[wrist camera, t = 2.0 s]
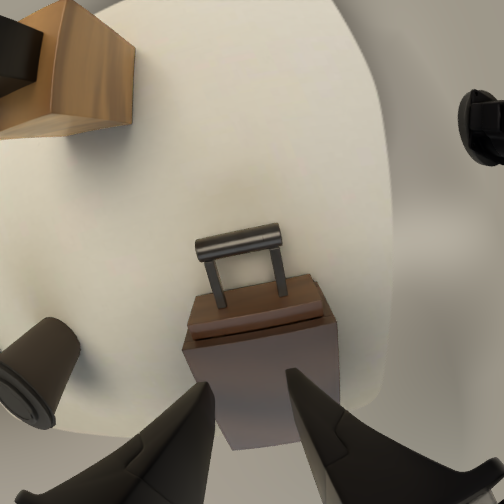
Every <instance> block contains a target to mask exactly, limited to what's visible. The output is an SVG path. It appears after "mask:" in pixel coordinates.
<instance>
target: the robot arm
mask: <svg viewBox="0 0 504 504" xmlns="http://www.w3.org/2000/svg"><path fill="white" fill-rule="evenodd" d="M472 144H473V147H472ZM468 147H469V149H470V150H471V151H473V152H476V153H478V154H480V155H482V156H484V157H486V158H488V159H490V160H492V161H494V162H496V163H498V164H500V165H504V100H496V101H494V100H493V99H491V98H489V97H488V96H486V95H485V94H483V93H481V92H480V91H478V90H476V89H472V90H471V92H470V125H469V139H468ZM285 373H286V380H287V387H288V392H289V397H290V402H291V407H292V411H293V416H294V421H295V424H296V427H297V430H298V433H299V436H300V439H301V442H302V445H303V448H304V450H305V454H306V457H307V459H308V462H309V465H310V468H311V471H312V473H313V477H314V480H315V482H316V485H317V488H318V491H319V494H320V497H321V499H322V502H323V504H497V501H496V499H495V497H494V495H493V493H492V491H491V488H493V487H494V486H495V485H496V484H497V483H498V482H499V481H500V480H501V479H502V478H503V477H504V464H503V463H502V462H501V461H500V460H499V459H498V458H497V457H494V458H491V459H489V460H487V461H486V462H484V463H482V464H481V465H480V466H478V467H476V468H474V469H472V470H470V471H467V472H458V471H455V470H453V469H451V468H448V467H446V466H444V465H441V464H439V463H438V462H435V461H433V460H431V459H429V458H427V457H425V456H423V455H421V454H419V453H417V452H415V451H413V450H411V449H409V448H407V447H405V446H403V445H401V444H400V443H398V442H396V441H394V440H392V439H390V438H388V437H387V436H385V435H383V434H381V433H379V432H377V431H375V430H374V429H372V428H371V427H369V426H367V425H366V424H364V423H363V422H361V421H360V420H358V419H357V418H356V417H355V416H353V415H352V414H351V413H349V412H348V411H347V410H345V409H344V408H343V407H342V406H341V405H339V404H338V403H337V402H336V401H335V400H333V399H332V398H331V397H330V396H329V395H327V394H326V393H325V392H324V391H323V390H322V389H320V388H319V387H318V386H317V385H316V384H315V383H313V382H312V381H311V380H310V379H309V378H308V377H307V376H305V375H304V374H303V373H302V372H301V371H300V370H299V369H297V368H296V367H295V368H290V369H286V370H285ZM214 433H215V396H214V394H213V392H212V389H211V387H210V385H209V383H208V382H206V381H205V382H197V383H196V384H195V385H194V386H192V387H191V388H190V389H189V390H188V391H187V392H186V393H185V394H184V395H182V396H181V397H180V398H179V399H178V400H177V401H176V402H175V403H173V404H172V405H171V406H170V407H169V408H168V409H167V410H165V411H164V412H163V413H162V414H161V415H160V416H159V417H157V418H156V419H155V420H154V421H153V422H152V423H150V424H149V425H148V426H147V427H146V428H144V429H143V430H142V431H141V432H140V434H137V435H135V436H134V437H133V438H132V439H131V440H129V441H128V442H127V443H125V444H124V445H123V446H121V447H120V448H119V449H117V450H116V451H114V452H113V453H111V454H110V455H108V456H107V457H105V458H103V459H102V460H100V461H99V462H97V463H96V464H94V465H92V466H91V467H89V468H87V469H86V470H84V471H82V472H81V473H79V474H78V475H76V476H74V477H72V478H71V479H69V480H67V481H65V482H64V483H62V484H60V485H58V486H56V487H55V488H53V489H51V490H49V491H47V492H45V493H43V494H39V495H37V494H33V493H30V492H28V491H26V490H22V491H20V492H19V494H18V495H17V497H16V498H15V503H17V504H203V502H204V496H205V490H206V484H207V477H208V471H209V465H210V459H211V452H212V446H213V440H214ZM498 504H504V499H503V500H502V501H501V502H499V503H498Z"/></svg>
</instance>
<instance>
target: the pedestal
mask: <svg viewBox="0 0 504 504" xmlns="http://www.w3.org/2000/svg"><path fill="white" fill-rule="evenodd" d="M18 22H20V23H22V24H25V25H27V26H30V27H32V28H34V29H37V30H39V31H42V32H43V38H42V44H41V50H40V56H39V63H38V71H37V80H36V82H34V83H32V84H30V85H27V86H25V87H23V88H20V89H18V90H16V91H14V92H12V93H10V94H8V95H6V96H4V97H2V98H0V140H5V139H18V138H34V137H62V136H69V135H74V134H78V133H83V132H88V131H93V130H99V129H104V128H110V127H116V126H122V125H129V124H132V97H133V73H134V57H135V47H134V46H132V45H131V44H130V43H129V42H127V41H126V40H125V39H124V38H123V37H121V36H120V35H119V34H118V33H116V32H115V31H114V30H112V29H111V28H110V27H109V26H107V25H106V24H105V23H103V22H102V21H101V20H99V19H98V18H97V17H96V16H94V15H93V14H91V13H90V12H89V11H87V10H86V9H84V8H83V7H82V6H81V5H79V4H78V3H76V2H75V1H73V0H59V1H57V2H55V3H52V4H50V5H48V6H46V7H44V8H42V9H40V10H38V11H36V12H35V13H32V14H31V15H29V16H27V17H25V18H23V19H22V20H20V21H18Z"/></svg>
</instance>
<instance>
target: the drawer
mask: <svg viewBox="0 0 504 504" xmlns="http://www.w3.org/2000/svg"><path fill="white" fill-rule="evenodd" d="M279 246H282V237H281V232H280V228H279V224H278V223H272V224H268V225H263V226H258V227H253V228H248V229H244V230H239V231H234V232H229V233H225V234H220V235H216V236H211V237H206V238H202V239H197V240H196V241H195V250H196V254H197V257H198V260H199V261H200V262H204V265H205V268H206V271H207V275H208V278H209V281H210V285H211V288H212V291H213V293H212V294H206V295H201V296H196V298H195V301H194V304H193V307H192V311H191V314H190V317H189V321H188V324H187V326H188V329H189V332H190V334H191V337H192V339H193V340H195V339H202V338H209V337H212V339H213V338H220V337H226V336H232V335H238V334H244V333H249V332H255V331H260V330H266V329H271V328H276V327H281V326H286V325H291V324H296V323H300V322H305V321H310V319H311V318H315V317H320V316H323V315H324V312H323V303H322V298H321V296H320V294H319V292H318V290H317V288H316V286H315V284H314V282H313V280H312V277H311V275H310V274H307V275H302V276H298V277H293V278H288V279H285V274H284V268H283V263H282V258H281V252H280V247H279ZM264 249H270V254H271V259H272V264H273V269H274V274H275V279H276V281H273V282H269V283H264V284H259V285H254V286H248V287H243V288H238V289H233V290H228V291H223V287H222V284H221V280H220V277H219V273H218V269H217V266H216V262H215V260H216V259H221V258H225V257H230V256H235V255H240V254H245V253H250V252H255V251H259V250H264Z"/></svg>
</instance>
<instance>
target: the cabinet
mask: <svg viewBox="0 0 504 504" xmlns="http://www.w3.org/2000/svg"><path fill="white" fill-rule="evenodd" d="M314 284H315V286H316V288H317V290H318V292H319V294H320V296H321V298H322V303H323V312H324V315H323V316H320V317H315V318H311V319H310V321H305V322H300V323H296V324H291V325H286V326H281V327H276V328H271V329H266V330H260V331H255V332H249V333H244V334H238V335H232V336H226V337H220V338H213V339H212V337H209V338H202V339H195V340H193V339H192V337H191V334H190V332H189V329H188V330H187V334H186V337H185V341H184V344H183V348H182V352H183V354H184V356H185V358H186V361H187V363H188V365H189V367H190V369H191V371H192V374H193V376H194V378H195V380H196V382H205V381H206V382H208V383H209V385H210V387H211V389H212V392H213V394H214V396H215V420H216V422H217V424H218V426H219V427H220V429H221V431H222V433H223V435H224V436H225V438H226V440H227V442H228V444H229V445H230V447H231V449H232V450H243V449H253V448H261V447H268V446H276V445H282V444H288V443H294V442H299V441H301V439H300V436H299V433H298V430H297V427H296V424H295V421H294V416H293V411H292V407H291V402H290V397H289V392H288V387H287V380H286V373H285V370H286V369H290V368H295V367H296V368H297V369H299V370H300V371H301V372H302V373H303V374H304V375H305V376H307V377H308V378H309V379H310V380H311V381H312V382H313V383H315V384H316V385H317V386H318V387H319V388H320V389H322V390H323V391H324V392H325V393H326V394H327V395H329V396H330V397H331V398H332V399H333V400H335V401H336V402H337V403H338V404H339V405H340V373H339V348H338V330H337V321H336V319H335V317H334V315H333V313H332V311H331V309H330V307H329V305H328V303H327V301H326V299H325V297H324V295H323V293H322V291H321V289H320V287H319V285H318V283H317V282H314Z"/></svg>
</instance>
